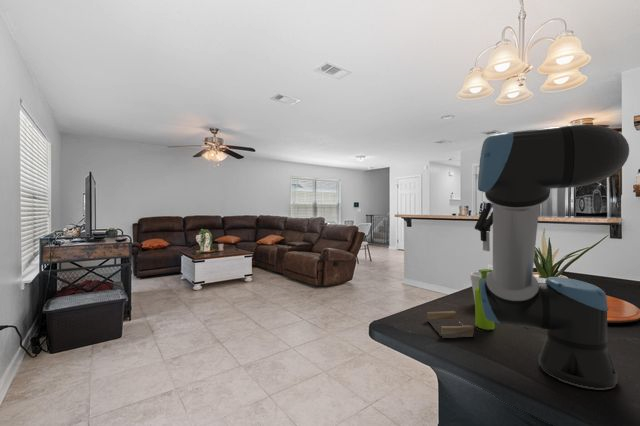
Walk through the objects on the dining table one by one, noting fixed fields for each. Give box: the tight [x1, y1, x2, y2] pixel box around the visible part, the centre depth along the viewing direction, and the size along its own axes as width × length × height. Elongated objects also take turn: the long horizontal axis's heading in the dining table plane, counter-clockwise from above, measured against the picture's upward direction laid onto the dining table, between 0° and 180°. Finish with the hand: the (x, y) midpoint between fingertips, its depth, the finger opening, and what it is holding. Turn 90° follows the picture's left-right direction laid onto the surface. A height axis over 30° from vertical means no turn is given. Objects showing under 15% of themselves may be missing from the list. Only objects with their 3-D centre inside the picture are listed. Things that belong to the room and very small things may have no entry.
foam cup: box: [470, 271, 490, 301], centre depth 125 cm, size 10×9×13 cm
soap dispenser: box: [474, 268, 496, 329], centre depth 105 cm, size 6×7×20 cm
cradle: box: [426, 310, 475, 335], centre depth 105 cm, size 14×10×4 cm
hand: (505, 250), depth 105 cm, fingers open, 13 cm apart
